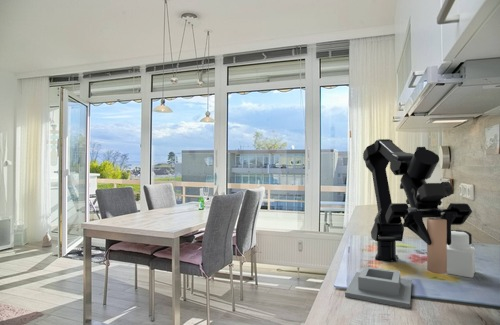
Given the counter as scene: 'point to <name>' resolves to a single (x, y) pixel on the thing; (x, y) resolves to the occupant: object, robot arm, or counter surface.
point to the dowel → (437, 246)
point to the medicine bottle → (461, 254)
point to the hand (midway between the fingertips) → (439, 244)
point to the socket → (380, 287)
